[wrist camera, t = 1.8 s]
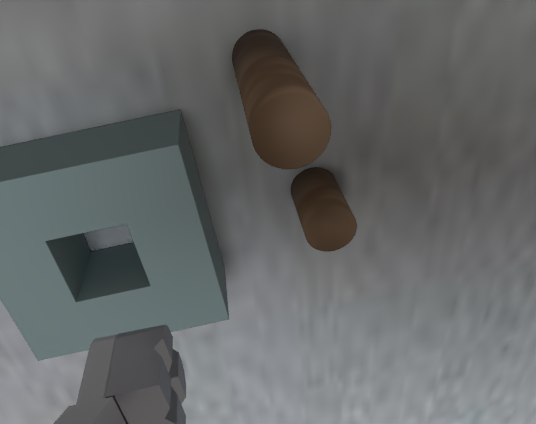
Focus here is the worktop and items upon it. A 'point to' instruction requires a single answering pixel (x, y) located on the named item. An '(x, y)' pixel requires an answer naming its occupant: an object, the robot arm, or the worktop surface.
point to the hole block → (100, 217)
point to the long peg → (279, 103)
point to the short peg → (322, 210)
